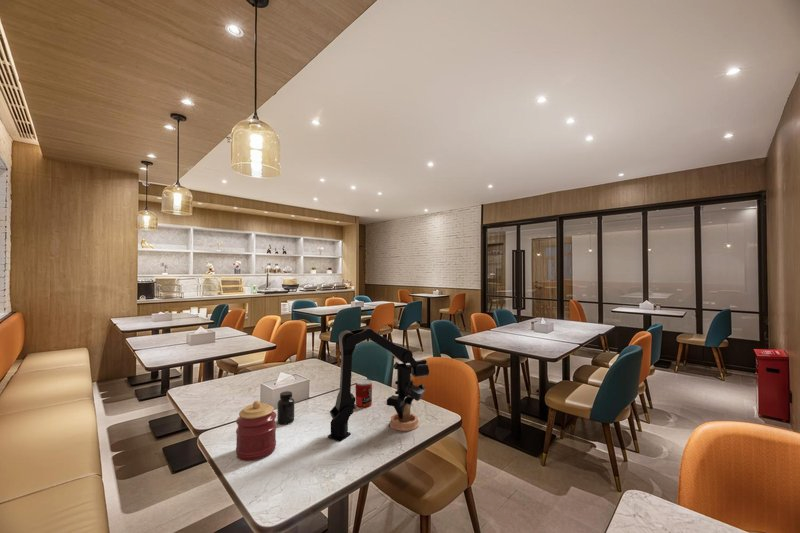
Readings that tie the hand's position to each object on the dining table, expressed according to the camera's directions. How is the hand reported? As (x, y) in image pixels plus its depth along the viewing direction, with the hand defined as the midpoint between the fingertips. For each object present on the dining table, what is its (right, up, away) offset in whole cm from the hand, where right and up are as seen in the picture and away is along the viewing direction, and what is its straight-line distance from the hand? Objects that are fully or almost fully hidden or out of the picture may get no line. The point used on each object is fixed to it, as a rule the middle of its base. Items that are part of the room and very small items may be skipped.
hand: (404, 416), depth 138 cm
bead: (0, -1, 0) cm, 1 cm away
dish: (0, -3, 0) cm, 3 cm away
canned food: (-19, -4, +21) cm, 29 cm away
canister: (-52, -3, -21) cm, 56 cm away
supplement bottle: (-50, -4, +3) cm, 50 cm away
